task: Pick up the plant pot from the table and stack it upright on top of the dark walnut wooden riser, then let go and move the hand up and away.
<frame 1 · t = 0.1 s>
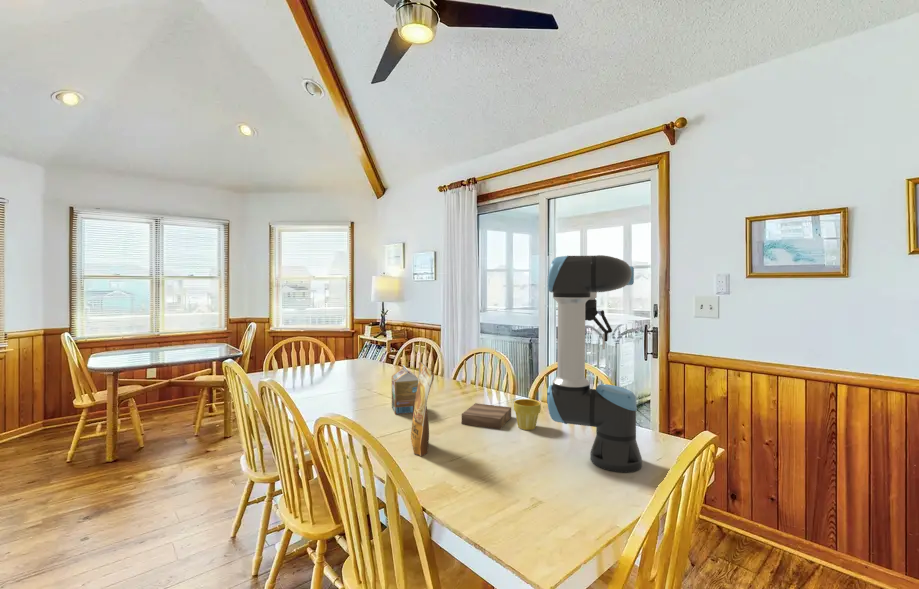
hand: (587, 348, 182), 28 cm above the table, tool pointing down, fingers open, 13 cm apart
pancake mix bag: (421, 447, 144), on the table
plant pot: (526, 427, 164), on the table
milk carton: (405, 410, 186), on the table
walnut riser: (487, 420, 172), on the table
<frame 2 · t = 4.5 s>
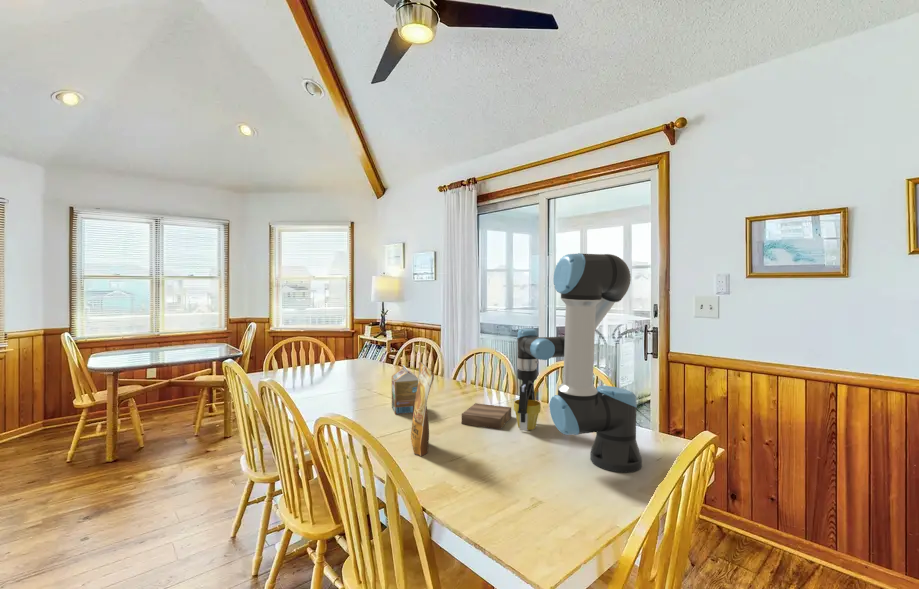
hand: (526, 425, 164), 1 cm above the table, tool pointing down, fingers closed on plant pot, 10 cm apart
plant pot: (526, 427, 164), on the table, touching gripper
everything else where it was.
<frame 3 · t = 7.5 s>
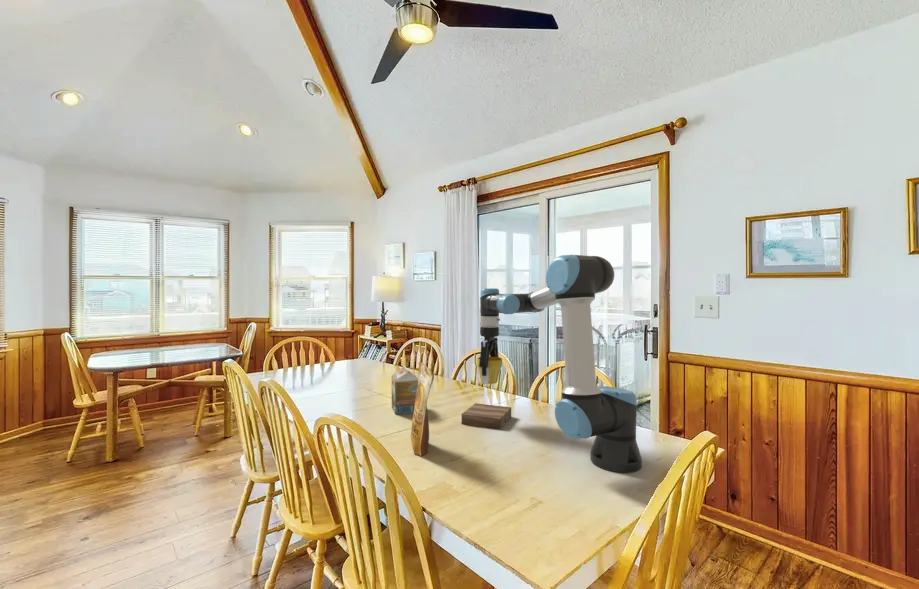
hand: (489, 380, 171), 16 cm above the table, tool pointing down, fingers closed on plant pot, 10 cm apart
plant pot: (489, 382, 171), point 16 cm above the table, touching gripper
everything else where it was.
when the fingers open (6 cm above the table, at t = 10.5 s): plant pot drops 1 cm, resting on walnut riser.
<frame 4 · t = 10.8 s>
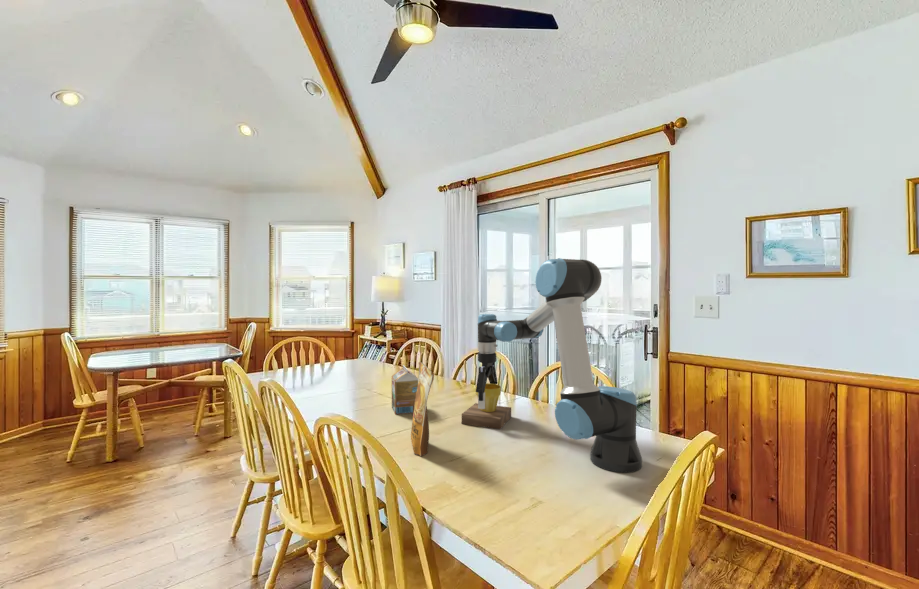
hand: (487, 404, 172), 7 cm above the table, tool pointing down, fingers open, 13 cm apart
plant pot: (488, 410, 173), point 4 cm above the table, touching gripper, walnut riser
everything else where it was.
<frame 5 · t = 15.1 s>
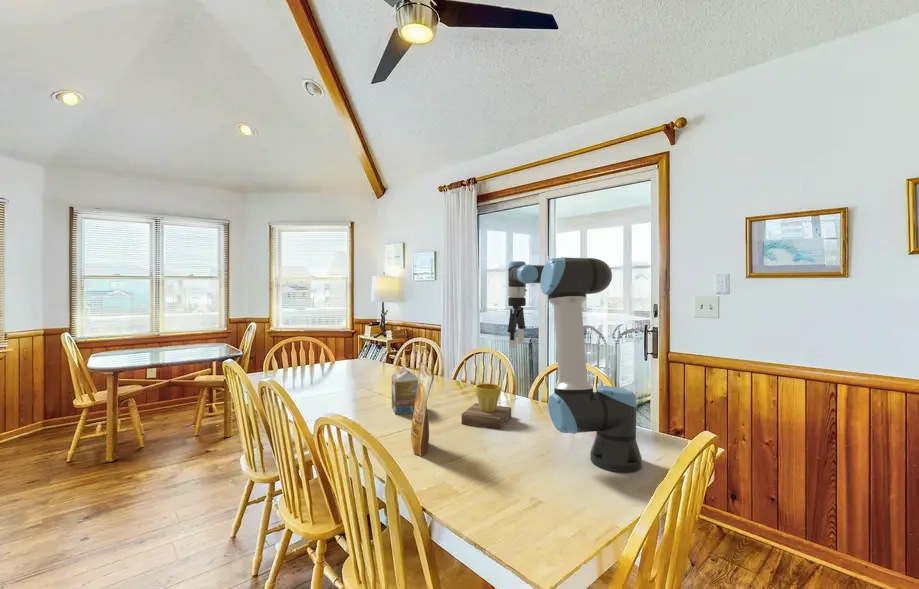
hand: (516, 345, 184), 29 cm above the table, tool pointing down, fingers open, 13 cm apart
plant pot: (488, 410, 173), point 4 cm above the table, touching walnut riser
everything else where it was.
at the end: plant pot inside the target area on the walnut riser (1.3 cm from its centre), point 3.8 cm above the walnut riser's base; plant pot tilted 0°; the gripper is holding nothing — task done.
